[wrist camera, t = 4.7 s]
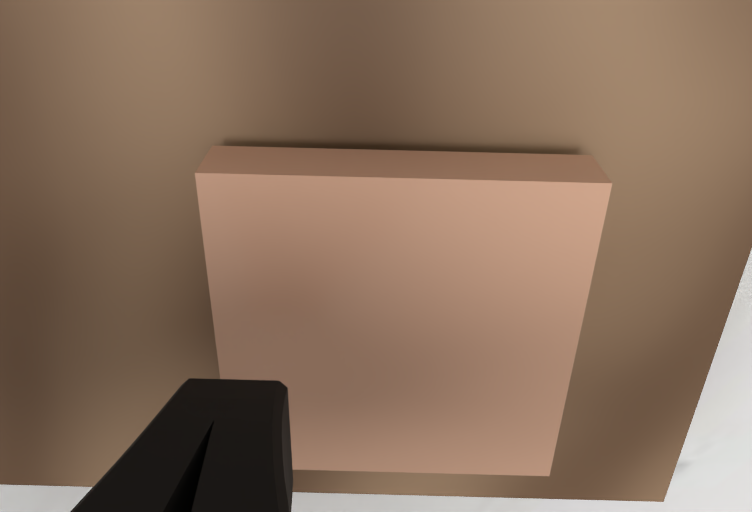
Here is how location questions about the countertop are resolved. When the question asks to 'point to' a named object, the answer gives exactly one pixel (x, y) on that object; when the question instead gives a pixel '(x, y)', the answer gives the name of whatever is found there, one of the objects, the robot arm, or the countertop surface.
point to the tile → (404, 298)
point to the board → (372, 132)
